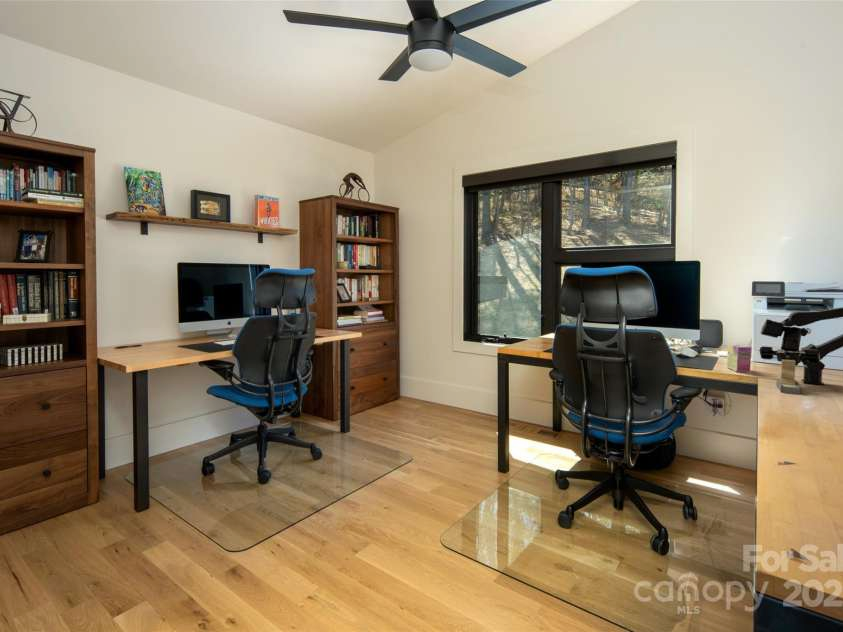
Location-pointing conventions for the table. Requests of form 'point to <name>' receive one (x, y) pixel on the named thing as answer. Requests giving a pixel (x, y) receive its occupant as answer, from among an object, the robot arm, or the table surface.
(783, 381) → the oak block
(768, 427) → the table surface
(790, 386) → the trap lane
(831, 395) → the table surface
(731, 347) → the box
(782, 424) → the table surface
